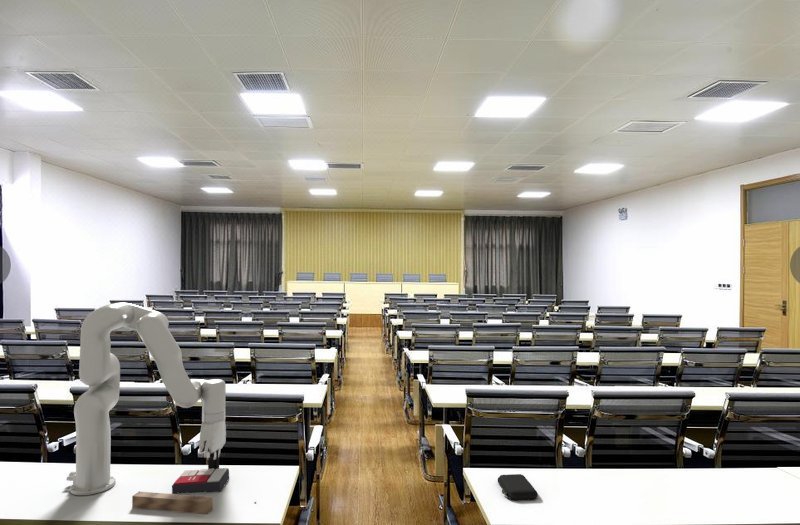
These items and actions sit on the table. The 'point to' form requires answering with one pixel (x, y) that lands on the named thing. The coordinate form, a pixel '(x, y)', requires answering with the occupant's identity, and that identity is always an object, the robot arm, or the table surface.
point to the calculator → (201, 481)
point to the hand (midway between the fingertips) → (213, 469)
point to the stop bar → (172, 502)
